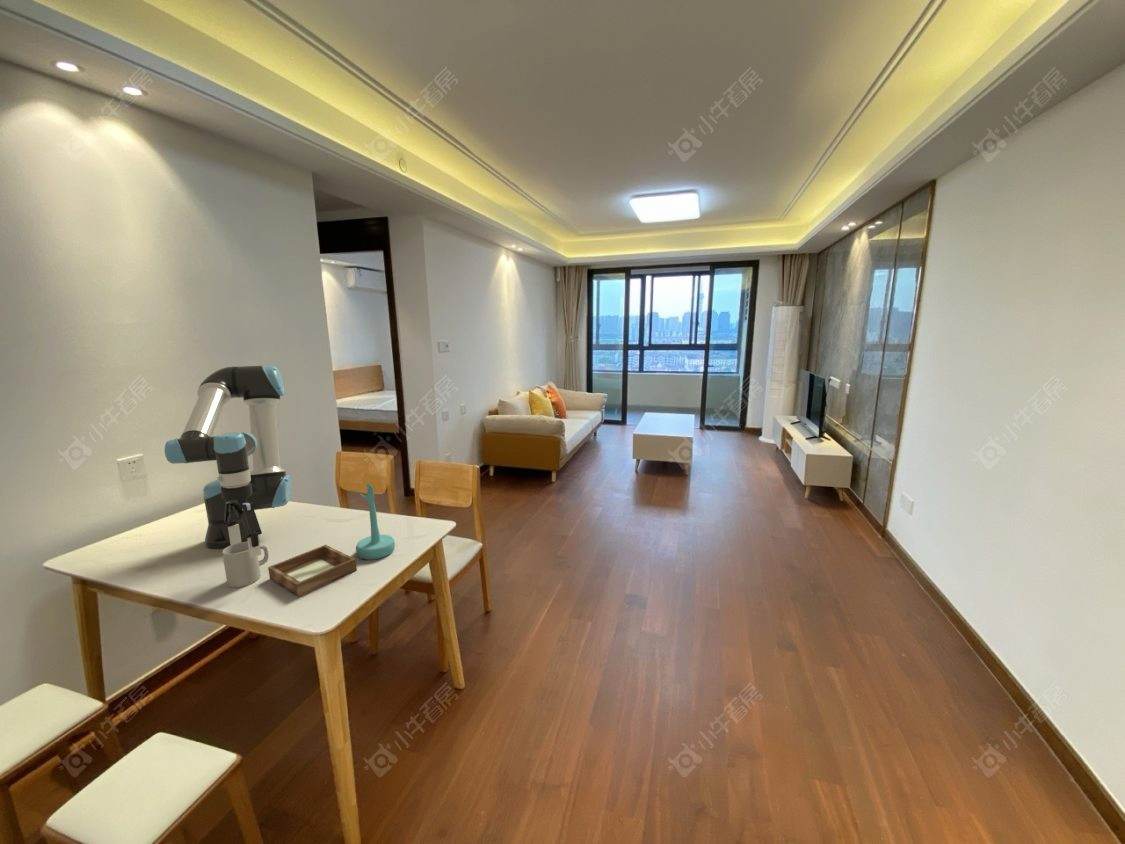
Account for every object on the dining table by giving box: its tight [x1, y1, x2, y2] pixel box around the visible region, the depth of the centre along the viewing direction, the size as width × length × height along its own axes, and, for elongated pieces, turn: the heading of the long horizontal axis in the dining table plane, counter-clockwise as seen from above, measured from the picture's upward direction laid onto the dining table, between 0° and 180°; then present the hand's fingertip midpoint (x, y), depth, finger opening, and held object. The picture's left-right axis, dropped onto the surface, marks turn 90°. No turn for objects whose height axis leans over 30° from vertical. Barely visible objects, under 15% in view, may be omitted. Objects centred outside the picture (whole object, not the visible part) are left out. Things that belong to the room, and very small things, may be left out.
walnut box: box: [267, 544, 358, 598], centre depth 141 cm, size 18×18×4 cm
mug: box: [221, 541, 270, 589], centre depth 139 cm, size 12×8×11 cm
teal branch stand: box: [355, 483, 396, 561], centre depth 154 cm, size 12×12×25 cm
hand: (245, 550), depth 138 cm, fingers open, 13 cm apart
